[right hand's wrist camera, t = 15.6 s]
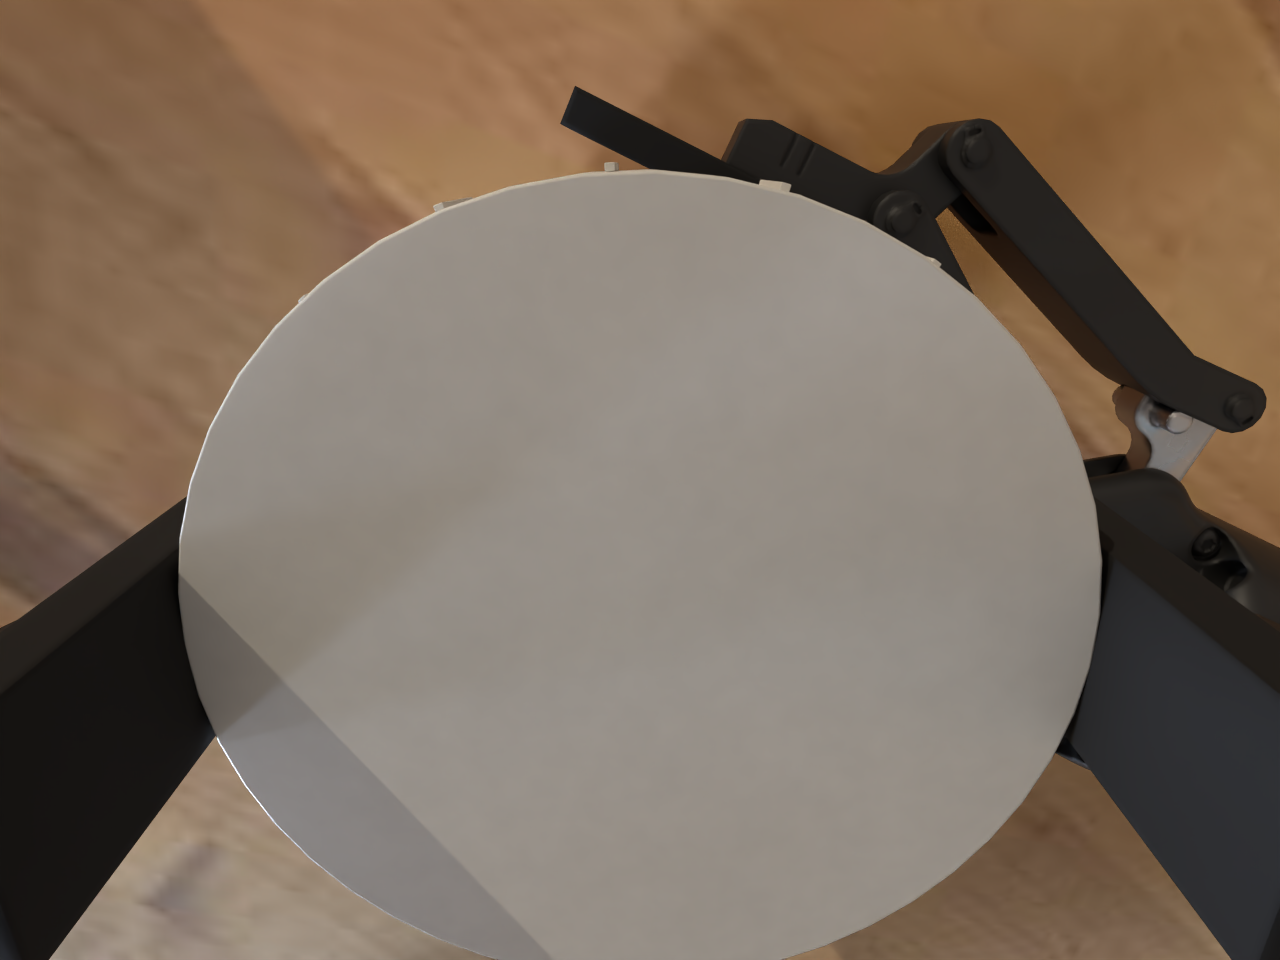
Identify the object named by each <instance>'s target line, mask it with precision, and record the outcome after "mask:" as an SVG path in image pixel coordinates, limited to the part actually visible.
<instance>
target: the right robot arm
mask: <svg viewBox="0 0 1280 960" xmlns="http://www.w3.org/2000/svg"><path fill="white" fill-rule="evenodd" d="M1093 498H1094V502H1095V505H1096V513H1097V522H1098V530H1099V538H1100V547H1101V555H1102V580H1101V609H1100V619H1099V624H1098V629H1097V635H1096V640H1095V646H1094V651H1093V655H1092V660H1091V665H1090V669H1089V672H1088V675H1087V678H1086V681H1085V684H1084V687H1083V690H1082V693H1081V696H1080V699H1079V702H1078V705H1077V708H1076V711H1075V714H1074V716H1073V718H1072V720H1071V722H1070V724H1069V726H1068V728H1067V730H1066V732H1065V734H1064V735H1065V736H1066V738H1067V739H1068V740H1069V742H1070V743H1071V744H1072V746H1073V747H1074V749H1075V750H1076V751H1077V753H1078V754H1079V755H1080V757H1081V758H1082V759H1083V761H1084V762H1085V763H1086V765H1087V766H1088V767H1089V769H1090V770H1091V771H1092V773H1093V774H1094V775H1095V777H1096V778H1097V779H1098V781H1099V782H1100V783H1101V785H1102V786H1103V787H1104V789H1105V790H1106V791H1107V793H1108V794H1109V796H1110V797H1111V798H1112V800H1113V801H1114V802H1115V804H1116V805H1117V806H1118V808H1119V809H1120V810H1121V812H1122V813H1123V814H1124V816H1125V817H1126V818H1127V820H1128V821H1129V822H1130V824H1131V825H1132V826H1133V828H1134V829H1135V830H1136V832H1137V833H1138V834H1139V836H1140V837H1141V839H1142V840H1143V841H1144V843H1145V844H1146V845H1147V847H1148V848H1149V849H1150V851H1151V852H1152V853H1153V855H1154V856H1155V857H1156V859H1157V860H1158V861H1159V863H1160V864H1161V865H1162V867H1163V868H1164V869H1165V871H1166V872H1167V873H1168V875H1169V876H1170V877H1171V879H1172V880H1173V881H1174V883H1175V884H1176V886H1177V887H1178V888H1179V890H1180V891H1181V892H1182V894H1183V895H1184V896H1185V898H1186V899H1187V900H1188V902H1189V903H1190V904H1191V906H1192V907H1193V908H1194V910H1195V911H1196V912H1197V914H1198V915H1199V916H1200V918H1201V919H1202V920H1203V922H1204V923H1205V924H1206V926H1207V927H1208V928H1209V930H1210V931H1211V933H1212V934H1213V935H1214V937H1215V938H1216V939H1217V941H1218V942H1219V943H1220V945H1221V946H1222V947H1223V949H1224V950H1225V951H1226V953H1227V954H1228V955H1229V957H1230V958H1231V959H1232V960H1280V624H1278V623H1276V622H1274V621H1272V620H1269V619H1267V618H1265V617H1263V616H1261V615H1259V614H1254V613H1253V612H1251V611H1250V610H1249V609H1247V608H1246V607H1245V606H1243V605H1242V604H1241V603H1239V602H1238V601H1236V600H1235V599H1234V598H1232V597H1231V596H1230V595H1228V594H1227V593H1225V592H1224V591H1223V590H1221V589H1220V588H1219V587H1217V586H1216V585H1214V584H1213V583H1212V582H1210V581H1209V580H1208V579H1206V578H1205V577H1204V576H1202V575H1201V574H1199V573H1198V572H1197V571H1195V570H1194V569H1193V568H1191V567H1190V566H1188V565H1187V564H1186V563H1184V562H1183V561H1182V560H1180V559H1179V558H1177V557H1176V556H1175V555H1173V554H1172V553H1171V552H1169V551H1168V550H1166V549H1165V548H1164V547H1162V546H1161V545H1160V544H1158V543H1157V542H1156V541H1154V540H1153V539H1151V538H1150V537H1149V536H1147V535H1146V534H1145V533H1143V532H1142V531H1140V530H1139V529H1138V528H1136V527H1135V526H1134V525H1132V524H1131V523H1129V522H1128V521H1127V520H1125V519H1124V518H1123V517H1121V516H1120V515H1119V514H1117V513H1116V512H1114V511H1113V510H1112V509H1110V508H1109V507H1108V506H1106V505H1105V504H1103V503H1102V502H1101V501H1099V500H1098V499H1097V498H1095V497H1094V496H1093ZM186 501H187V497H185V498H184V499H183V500H181V501H180V502H179V503H177V504H176V505H174V506H173V507H172V508H170V509H169V510H168V511H166V512H165V513H163V514H162V515H161V516H159V517H158V518H157V519H155V520H154V521H152V522H151V523H150V524H148V525H147V526H146V527H144V528H143V529H142V530H140V531H139V532H137V533H136V534H135V535H133V536H132V537H131V538H129V539H128V540H126V541H125V542H124V543H122V544H121V545H120V546H118V547H117V548H115V549H114V550H113V551H111V552H110V553H109V554H107V555H106V556H104V557H103V558H102V559H100V560H99V561H98V562H96V563H95V564H94V565H92V566H91V567H89V568H88V569H87V570H85V571H84V572H83V573H81V574H80V575H78V576H77V577H76V578H74V579H73V580H72V581H70V582H69V583H67V584H66V585H65V586H63V587H62V588H61V589H59V590H58V591H57V592H55V593H54V594H52V595H51V596H50V597H48V598H47V599H46V600H44V601H43V602H41V603H40V604H39V605H37V606H36V607H35V608H33V609H32V610H30V611H29V612H28V613H26V614H25V615H24V616H22V617H21V618H20V619H18V620H16V621H14V622H12V623H10V624H8V625H5V626H3V627H1V628H0V960H49V959H50V957H51V956H52V955H53V953H54V952H55V951H56V949H57V948H58V947H59V945H60V944H61V943H62V941H63V940H64V939H65V937H66V936H67V935H68V933H69V932H70V931H71V929H72V928H73V927H74V925H75V924H76V922H77V921H78V920H79V918H80V917H81V916H82V914H83V913H84V912H85V910H86V909H87V908H88V906H89V905H90V904H91V902H92V901H93V900H94V898H95V897H96V896H97V894H98V893H99V892H100V890H101V889H102V888H103V886H104V885H105V884H106V882H107V881H108V880H109V878H110V877H111V875H112V874H113V873H114V871H115V870H116V869H117V867H118V866H119V865H120V863H121V862H122V861H123V859H124V858H125V857H126V855H127V854H128V853H129V851H130V850H131V849H132V847H133V846H134V845H135V843H136V842H137V841H138V839H139V838H140V837H141V835H142V834H143V833H144V831H145V830H146V828H147V827H148V826H149V824H150V823H151V822H152V820H153V819H154V818H155V816H156V815H157V814H158V812H159V811H160V810H161V808H162V807H163V806H164V804H165V803H166V802H167V800H168V799H169V798H170V796H171V795H172V794H173V792H174V791H175V790H176V788H177V787H178V786H179V784H180V783H181V781H182V780H183V779H184V777H185V776H186V775H187V773H188V772H189V771H190V769H191V768H192V767H193V765H194V764H195V763H196V761H197V760H198V759H199V757H200V756H201V755H202V753H203V752H204V751H205V749H206V748H207V747H208V745H209V744H210V743H211V741H212V740H213V739H214V737H215V736H216V735H215V732H214V730H213V728H212V725H211V723H210V721H209V718H208V716H207V714H206V712H205V709H204V707H203V705H202V702H201V700H200V698H199V695H198V692H197V688H196V685H195V681H194V677H193V674H192V670H191V667H190V662H189V658H188V654H187V650H186V646H185V641H184V636H183V628H182V620H181V612H180V604H179V596H178V577H179V541H180V534H181V528H182V523H183V517H184V512H185V507H186Z"/></svg>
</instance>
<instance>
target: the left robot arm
mask: <svg viewBox="0 0 1280 960" xmlns="http://www.w3.org/2000/svg"><path fill="white" fill-rule="evenodd" d="M560 124H562V125H563V126H565V127H567V128H569V129H571V130H573V131H575V132H577V133H579V134H581V135H583V136H585V137H587V138H589V139H591V140H593V141H595V142H597V143H599V144H601V145H603V146H605V147H607V148H609V149H611V150H613V151H615V152H617V153H619V154H621V155H623V156H625V157H627V158H629V159H631V160H633V161H635V162H637V163H639V164H641V165H643V166H645V167H647V168H649V169H654V170H665V171H675V172H685V173H695V174H705V175H714V176H722V177H729V178H733V179H738V180H742V181H746V182H750V183H754V184H758V185H759V183H760V180H769V181H778V182H784V183H788V184H791V188H790V191H789V192H791V193H795V194H799V195H802V196H804V197H807V198H809V199H812V200H814V201H817V202H819V203H822V204H824V205H827V206H829V207H831V208H834V209H836V210H839V211H841V212H844V213H846V214H849V215H851V216H854V217H856V218H859V219H861V220H864V221H866V222H868V223H869V224H871V225H873V226H875V227H876V228H878V229H880V230H882V231H883V232H885V233H887V234H888V235H890V236H892V237H894V238H895V239H897V240H899V241H900V242H902V243H904V244H906V245H907V246H909V247H911V248H912V249H914V250H916V251H918V252H919V253H921V254H923V255H925V256H927V257H930V258H933V259H936V260H937V261H938V262H940V263H941V266H940V268H941V269H942V270H943V271H945V272H946V273H947V274H948V275H950V276H951V277H952V278H953V279H955V280H956V281H957V282H958V283H960V284H961V285H962V286H963V287H965V288H966V289H967V290H968V291H970V292H971V293H972V294H973V292H972V290H971V288H970V286H969V284H968V282H967V280H966V278H965V276H964V274H963V272H962V270H961V268H960V266H959V264H958V262H957V260H956V258H955V257H954V255H953V253H952V251H951V249H950V247H949V245H948V243H947V241H946V239H945V237H944V235H943V233H942V231H941V229H940V227H939V225H938V223H937V221H936V219H935V218H936V217H937V216H938V215H939V214H940V213H942V212H943V211H944V210H945V209H946V208H948V209H949V210H950V211H951V212H952V213H953V215H954V216H955V217H956V218H957V219H958V220H959V221H960V222H961V223H962V225H963V226H964V227H965V228H966V229H967V230H968V231H969V232H970V233H971V235H972V236H973V237H974V238H975V239H976V240H977V241H978V242H979V243H980V244H981V246H982V247H983V248H984V249H985V250H986V251H987V252H988V253H989V254H990V256H991V257H992V258H993V259H994V260H995V261H996V262H997V263H998V264H999V266H1000V267H1001V268H1002V269H1003V270H1004V271H1005V272H1006V273H1007V274H1008V276H1009V277H1010V278H1011V279H1012V280H1013V281H1014V282H1015V283H1016V284H1017V285H1018V287H1019V288H1020V289H1021V290H1022V291H1023V292H1024V293H1025V294H1026V295H1027V297H1028V298H1029V299H1030V300H1031V301H1032V302H1033V303H1034V304H1035V305H1036V307H1037V308H1038V309H1039V310H1040V311H1041V312H1042V313H1043V314H1044V315H1045V316H1046V318H1047V319H1048V320H1049V321H1050V322H1051V323H1052V324H1053V325H1054V326H1055V328H1056V329H1057V330H1058V331H1059V332H1060V333H1061V334H1062V335H1063V336H1064V338H1065V339H1066V340H1067V341H1068V342H1069V343H1070V344H1071V345H1072V346H1073V348H1074V349H1075V350H1076V351H1077V352H1078V353H1079V354H1080V355H1081V356H1082V357H1083V358H1084V359H1085V360H1086V361H1087V362H1088V363H1089V364H1090V365H1091V366H1092V367H1093V368H1094V369H1096V370H1097V371H1098V372H1100V373H1101V374H1103V375H1104V376H1105V377H1107V378H1109V379H1110V380H1112V381H1114V382H1116V383H1118V384H1120V385H1121V386H1119V387H1118V388H1117V389H1116V390H1115V391H1114V393H1113V395H1112V400H1113V402H1114V404H1115V411H1116V415H1117V417H1118V419H1119V420H1120V421H1121V422H1122V423H1123V424H1125V425H1126V426H1127V427H1128V429H1129V431H1130V433H1131V438H1132V441H1131V446H1130V449H1129V451H1128V453H1127V454H1115V455H1109V456H1103V457H1098V458H1092V459H1086V460H1083V463H1084V466H1085V470H1086V473H1087V477H1088V480H1089V484H1090V487H1091V491H1092V495H1093V496H1094V497H1095V498H1097V499H1098V500H1099V501H1101V502H1102V503H1103V504H1105V505H1106V506H1108V507H1109V508H1110V509H1112V510H1113V511H1114V512H1116V513H1117V514H1119V515H1120V516H1121V517H1123V518H1124V519H1125V520H1127V521H1128V522H1129V523H1131V524H1132V525H1134V526H1135V527H1136V528H1138V529H1139V530H1140V531H1142V532H1143V533H1145V534H1146V535H1147V536H1149V537H1150V538H1151V539H1153V540H1154V541H1156V542H1157V543H1158V544H1160V545H1161V546H1162V547H1164V548H1165V549H1166V550H1168V551H1169V552H1171V553H1172V554H1173V555H1175V556H1176V557H1177V558H1179V559H1180V560H1182V561H1183V562H1184V563H1186V564H1187V565H1188V566H1190V567H1191V568H1193V569H1194V570H1195V571H1197V572H1198V573H1199V574H1201V575H1202V576H1204V577H1205V578H1206V579H1208V580H1209V581H1210V582H1212V583H1213V584H1214V585H1216V586H1217V587H1219V588H1220V589H1221V590H1223V591H1224V592H1225V593H1227V594H1228V595H1230V596H1231V597H1232V598H1234V599H1235V600H1236V601H1238V602H1239V603H1241V604H1242V605H1243V606H1245V607H1246V608H1247V609H1249V610H1250V611H1251V612H1253V613H1254V614H1259V615H1261V616H1263V617H1265V618H1267V619H1269V620H1272V621H1274V622H1276V623H1278V624H1280V548H1278V547H1276V546H1274V545H1272V544H1270V543H1268V542H1266V541H1264V540H1262V539H1260V538H1258V537H1256V536H1254V535H1252V534H1250V533H1248V532H1245V531H1243V530H1241V529H1239V528H1237V527H1235V526H1233V525H1231V524H1229V523H1227V522H1225V521H1223V520H1221V519H1219V518H1217V517H1215V516H1212V515H1210V514H1208V513H1206V512H1204V511H1202V510H1200V509H1198V508H1196V507H1195V505H1194V504H1193V503H1192V501H1191V499H1190V497H1189V495H1188V493H1187V491H1186V489H1185V487H1184V486H1183V485H1182V483H1181V482H1180V481H1181V480H1182V478H1183V477H1184V475H1185V474H1186V472H1187V471H1188V470H1189V468H1190V467H1191V465H1192V464H1193V462H1194V461H1195V460H1196V458H1197V457H1198V455H1199V454H1200V452H1201V451H1202V450H1203V448H1204V447H1205V445H1206V444H1207V443H1208V441H1209V440H1210V438H1211V437H1212V435H1213V434H1214V433H1215V431H1216V430H1217V429H1219V430H1221V431H1225V432H1230V433H1235V432H1241V431H1244V430H1246V429H1248V428H1249V427H1251V426H1253V425H1254V424H1255V423H1256V422H1257V421H1258V420H1259V419H1260V418H1261V416H1262V414H1263V412H1264V410H1265V408H1266V396H1265V393H1264V391H1263V389H1262V388H1260V387H1259V386H1258V385H1257V384H1255V383H1253V382H1251V381H1249V380H1246V379H1244V378H1242V377H1240V376H1238V375H1236V374H1233V373H1231V372H1229V371H1227V370H1225V369H1222V368H1220V367H1218V366H1216V365H1214V364H1212V363H1209V362H1207V361H1205V360H1203V359H1201V358H1198V357H1196V356H1194V355H1193V354H1192V352H1191V351H1190V350H1189V349H1188V348H1187V346H1186V345H1185V344H1184V343H1183V342H1182V341H1181V339H1180V338H1179V337H1178V336H1177V335H1176V334H1175V332H1174V331H1173V330H1172V329H1171V328H1170V327H1169V325H1168V324H1167V323H1166V322H1165V321H1164V319H1163V318H1162V317H1161V316H1160V315H1159V314H1158V312H1157V311H1156V310H1155V309H1154V308H1153V307H1152V305H1151V304H1150V303H1149V302H1148V301H1147V300H1146V298H1145V297H1144V296H1143V295H1142V294H1141V293H1140V291H1139V290H1138V289H1137V288H1136V287H1135V285H1134V284H1133V283H1132V282H1131V281H1130V280H1129V278H1128V277H1127V276H1126V275H1125V274H1124V273H1123V271H1122V270H1121V269H1120V268H1119V267H1118V266H1117V264H1116V263H1115V262H1114V261H1113V260H1112V258H1111V257H1110V256H1109V255H1108V254H1107V253H1106V251H1105V250H1104V249H1103V248H1102V247H1101V246H1100V244H1099V243H1098V242H1097V241H1096V240H1095V239H1094V237H1093V236H1092V235H1091V234H1090V233H1089V231H1088V230H1087V229H1086V228H1085V227H1084V226H1083V224H1082V223H1081V222H1080V221H1079V220H1078V219H1077V217H1076V216H1075V215H1074V214H1073V213H1072V212H1071V210H1070V209H1069V208H1068V207H1067V206H1066V205H1065V203H1064V202H1063V201H1062V200H1061V199H1060V197H1059V196H1058V195H1057V194H1056V193H1055V192H1054V190H1053V189H1052V188H1051V187H1050V186H1049V185H1048V183H1047V182H1046V181H1045V180H1044V179H1043V178H1042V176H1041V175H1040V174H1039V173H1038V172H1037V170H1036V169H1035V168H1034V167H1033V166H1032V165H1031V163H1030V162H1029V161H1028V160H1027V159H1026V158H1025V156H1024V155H1023V154H1022V153H1021V152H1020V151H1019V149H1018V148H1017V147H1016V146H1015V145H1014V143H1013V142H1012V141H1011V140H1010V139H1009V138H1008V136H1007V135H1006V134H1005V133H1004V132H1003V131H1002V129H1001V128H1000V127H999V126H997V125H996V124H995V123H993V122H992V121H991V120H985V119H972V120H965V121H958V122H950V123H943V124H937V125H933V126H929V127H927V128H926V129H924V130H923V131H922V132H920V133H919V134H918V136H917V137H916V139H915V140H914V141H913V143H912V147H911V148H910V149H909V150H908V151H906V152H905V153H904V154H903V155H902V156H901V157H900V158H899V159H898V160H897V161H896V162H895V163H894V164H893V165H891V166H890V167H889V168H888V169H886V170H884V171H881V172H879V173H874V172H871V171H869V170H867V169H865V168H863V167H861V166H859V165H857V164H855V163H853V162H851V161H849V160H848V159H846V158H844V157H842V156H840V155H838V154H836V153H834V152H832V151H830V150H828V149H826V148H825V147H823V146H821V145H819V144H817V143H814V142H813V141H811V140H809V139H807V138H805V137H803V136H802V135H800V134H797V133H795V132H794V131H792V130H790V129H788V128H786V127H784V126H782V125H781V124H779V123H777V122H775V121H773V120H759V119H745V120H743V121H740V122H739V123H738V125H737V127H736V129H735V131H734V133H733V136H732V138H731V140H730V142H729V144H728V146H727V148H726V151H725V153H724V155H723V157H722V159H721V160H720V159H718V158H716V157H714V156H712V155H710V154H708V153H706V152H704V151H702V150H700V149H698V148H696V147H694V146H692V145H690V144H688V143H686V142H684V141H682V140H680V139H678V138H676V137H674V136H672V135H671V134H669V133H667V132H665V131H663V130H661V129H659V128H657V127H655V126H653V125H651V124H649V123H647V122H645V121H643V120H641V119H639V118H637V117H635V116H633V115H631V114H629V113H627V112H625V111H623V110H621V109H619V108H617V107H615V106H613V105H612V104H610V103H608V102H606V101H604V100H602V99H600V98H598V97H596V96H594V95H592V94H590V93H588V92H586V91H584V90H582V89H580V88H578V87H576V86H575V88H574V90H573V93H572V95H571V98H570V100H569V103H568V105H567V108H566V110H565V113H564V116H563V118H562V121H561V123H560ZM973 295H974V294H973ZM1055 753H1056V754H1058V755H1060V756H1062V757H1064V758H1066V759H1068V760H1069V761H1071V762H1073V763H1075V764H1077V765H1079V766H1082V767H1084V768H1086V769H1088V770H1090V769H1089V767H1088V766H1087V765H1086V763H1085V762H1084V761H1083V759H1082V758H1081V757H1080V755H1079V754H1078V753H1077V751H1076V750H1075V749H1074V747H1073V746H1072V744H1071V743H1070V742H1069V740H1068V739H1067V738H1066V736H1065V735H1064V736H1063V738H1062V740H1061V742H1060V744H1059V746H1058V748H1057V750H1056V752H1055Z"/></svg>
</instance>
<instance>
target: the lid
mask: <svg viewBox="0 0 1280 960" xmlns="http://www.w3.org/2000/svg"><path fill="white" fill-rule="evenodd" d="M604 165H605V171H598V172H587V173H579V174H574V175H568V176H563V177H558V178H552V179H547V180H541V181H536V182H530V183H525V184H520V185H514V186H509V187H506V188H503V189H500V190H497V191H494V192H491V193H488V194H485V195H482V196H479V197H476V198H472V197H468V198H463V199H457V200H452V201H447V202H441V203H439V204H437V205H434V209H435V211H436V212H435V213H433V214H431V215H429V216H427V217H425V218H423V219H421V220H419V221H417V222H415V223H413V224H411V225H409V226H407V227H405V228H403V229H401V230H399V231H397V232H395V233H393V234H391V235H389V236H387V237H385V238H383V239H381V240H379V241H378V242H376V243H375V244H373V245H372V246H370V247H369V248H368V249H366V250H365V251H363V252H362V253H361V254H359V255H358V256H356V257H355V258H353V259H352V260H351V261H349V262H348V263H346V264H345V265H344V266H342V267H341V268H339V269H338V270H336V271H335V272H334V273H332V274H331V275H329V276H328V277H327V278H325V279H324V280H323V281H321V282H320V283H319V284H318V285H317V286H316V287H315V288H314V289H313V290H312V291H311V292H310V293H308V294H306V295H303V296H302V297H301V298H300V300H299V301H298V302H299V304H298V305H296V306H295V307H294V308H293V309H292V310H291V311H290V312H289V313H288V314H287V315H286V316H285V317H284V318H283V319H282V320H281V321H280V322H279V323H278V324H277V325H276V326H275V327H274V328H273V330H272V331H271V332H270V334H269V335H268V336H267V338H266V339H265V340H264V341H263V343H262V344H261V345H260V347H259V348H258V349H257V351H256V352H255V353H254V355H253V356H252V357H251V358H250V360H249V361H248V362H247V364H246V365H245V366H244V368H243V369H242V370H241V372H240V373H239V374H238V376H237V378H236V379H235V381H234V383H233V385H232V387H231V389H230V390H229V392H228V394H227V396H226V398H225V400H224V402H223V403H222V405H221V407H220V409H219V411H218V413H217V414H216V416H215V418H214V420H213V422H212V424H211V426H210V427H209V430H208V433H207V436H206V438H205V441H204V444H203V447H202V450H201V453H200V455H199V458H198V461H197V464H196V467H195V470H194V472H193V475H192V478H191V481H190V485H189V490H188V496H187V501H186V507H185V512H184V517H183V523H182V528H181V534H180V541H179V577H178V596H179V604H180V612H181V620H182V628H183V636H184V641H185V646H186V650H187V654H188V658H189V662H190V667H191V670H192V674H193V677H194V681H195V685H196V688H197V692H198V695H199V698H200V700H201V702H202V705H203V707H204V709H205V712H206V714H207V716H208V718H209V721H210V723H211V725H212V728H213V730H214V732H215V735H216V737H217V739H218V741H219V743H220V745H221V747H222V748H223V750H224V752H225V753H226V755H227V757H228V758H229V760H230V762H231V763H232V765H233V767H234V768H235V770H236V771H237V773H238V775H239V776H240V778H241V780H242V781H243V783H244V785H245V786H246V787H247V789H248V790H249V791H250V792H251V794H252V795H253V796H254V798H255V799H256V800H257V801H258V803H259V804H260V805H261V806H262V808H263V809H264V810H265V811H266V813H267V814H268V815H269V816H270V818H271V819H272V820H273V821H274V823H275V824H276V825H277V826H278V827H279V828H280V829H281V830H282V831H283V832H284V833H285V834H286V835H287V836H288V837H289V838H290V839H291V840H292V841H293V842H294V843H295V844H296V845H297V846H298V847H299V848H300V849H301V850H302V851H303V852H304V853H305V854H306V855H307V856H308V857H309V858H310V859H311V860H312V861H314V862H315V863H316V864H317V865H319V866H320V867H321V868H322V869H324V870H325V871H326V872H328V873H329V874H330V875H331V876H333V877H334V878H335V879H336V880H338V881H339V882H340V883H342V884H343V885H344V886H345V887H347V888H348V889H349V890H350V891H352V892H354V893H355V894H357V895H358V896H360V897H362V898H363V899H365V900H366V901H368V902H370V903H371V904H373V905H374V906H376V907H378V908H379V909H381V910H382V911H384V912H386V913H387V914H389V915H390V916H392V917H394V918H396V919H398V920H400V921H402V922H404V923H406V924H408V925H410V926H412V927H414V928H416V929H418V930H421V931H423V932H425V933H427V934H429V935H431V936H433V937H435V938H437V939H439V940H442V941H445V942H448V943H450V944H453V945H456V946H458V947H461V948H464V949H467V950H469V951H472V952H475V953H478V954H480V955H483V956H486V957H490V958H494V959H498V960H783V959H786V958H789V957H792V956H795V955H798V954H801V953H804V952H808V951H811V950H814V949H817V948H820V947H823V946H826V945H828V944H830V943H832V942H835V941H837V940H839V939H842V938H844V937H846V936H848V935H851V934H853V933H855V932H858V931H860V930H862V929H864V928H867V927H869V926H871V925H873V924H874V923H876V922H878V921H880V920H881V919H883V918H885V917H887V916H889V915H890V914H892V913H894V912H896V911H897V910H899V909H901V908H903V907H904V906H906V905H908V904H910V903H911V902H913V901H914V900H916V899H917V898H919V897H920V896H921V895H923V894H924V893H926V892H927V891H928V890H930V889H931V888H933V887H934V886H935V885H937V884H938V883H940V882H941V881H942V880H944V879H945V878H947V877H948V876H949V875H951V874H952V873H953V872H955V871H956V870H957V869H958V868H959V867H960V866H961V865H962V864H963V863H965V862H966V861H967V860H968V859H969V858H970V857H971V856H972V855H973V854H974V853H976V852H977V851H978V850H979V849H980V848H981V847H982V846H983V845H984V844H986V843H987V842H988V841H989V840H990V839H991V838H992V837H993V836H994V834H995V833H996V832H997V831H998V830H999V829H1000V828H1001V826H1002V825H1003V824H1004V823H1005V822H1006V821H1007V820H1008V818H1009V817H1010V816H1011V815H1012V814H1013V813H1014V812H1015V810H1016V809H1017V808H1018V807H1019V806H1020V805H1021V804H1022V802H1023V801H1024V800H1025V798H1026V797H1027V795H1028V794H1029V792H1030V791H1031V789H1032V788H1033V786H1034V785H1035V783H1036V782H1037V780H1038V779H1039V778H1040V776H1041V775H1042V773H1043V772H1044V770H1045V769H1046V767H1047V766H1048V764H1049V763H1050V761H1051V760H1052V758H1053V756H1054V754H1055V752H1056V750H1057V748H1058V746H1059V744H1060V742H1061V740H1062V738H1063V736H1064V734H1065V732H1066V730H1067V728H1068V726H1069V724H1070V722H1071V720H1072V718H1073V716H1074V714H1075V711H1076V708H1077V705H1078V702H1079V699H1080V696H1081V693H1082V690H1083V687H1084V684H1085V681H1086V678H1087V675H1088V672H1089V669H1090V665H1091V660H1092V655H1093V651H1094V646H1095V640H1096V635H1097V629H1098V624H1099V619H1100V609H1101V580H1102V555H1101V547H1100V538H1099V530H1098V522H1097V513H1096V505H1095V502H1094V498H1093V495H1092V491H1091V487H1090V484H1089V480H1088V477H1087V473H1086V470H1085V466H1084V463H1083V459H1082V456H1081V452H1080V449H1079V447H1078V445H1077V443H1076V440H1075V438H1074V436H1073V434H1072V432H1071V430H1070V427H1069V425H1068V423H1067V421H1066V419H1065V417H1064V414H1063V412H1062V410H1061V408H1060V406H1059V404H1058V401H1057V399H1056V397H1055V395H1054V394H1053V392H1052V391H1051V389H1050V388H1049V386H1048V385H1047V383H1046V382H1045V380H1044V379H1043V377H1042V376H1041V374H1040V373H1039V371H1038V370H1037V368H1036V367H1035V365H1034V364H1033V362H1032V361H1031V359H1030V358H1029V356H1028V355H1027V353H1026V352H1025V350H1024V349H1023V347H1022V346H1021V345H1020V343H1019V342H1018V341H1017V340H1016V339H1015V338H1014V337H1013V336H1012V335H1011V334H1010V333H1009V332H1008V330H1007V329H1006V328H1005V327H1004V326H1003V325H1002V324H1001V323H1000V322H999V321H998V320H997V318H996V317H995V316H994V315H993V314H992V313H991V312H990V311H989V310H988V309H987V308H986V307H985V305H984V304H983V303H982V302H981V301H980V300H979V299H978V298H977V297H976V296H975V295H973V294H972V293H971V292H970V291H968V290H967V289H966V288H965V287H963V286H962V285H961V284H960V283H958V282H957V281H956V280H955V279H953V278H952V277H951V276H950V275H948V274H947V273H946V272H945V271H943V270H942V269H941V268H940V266H941V263H940V262H938V261H937V260H936V259H933V258H930V257H927V256H925V255H923V254H921V253H919V252H918V251H916V250H914V249H912V248H911V247H909V246H907V245H906V244H904V243H902V242H900V241H899V240H897V239H895V238H894V237H892V236H890V235H888V234H887V233H885V232H883V231H882V230H880V229H878V228H876V227H875V226H873V225H871V224H869V223H868V222H866V221H864V220H861V219H859V218H856V217H854V216H851V215H849V214H846V213H844V212H841V211H839V210H836V209H834V208H831V207H829V206H827V205H824V204H822V203H819V202H817V201H814V200H812V199H809V198H807V197H804V196H802V195H799V194H795V193H791V192H789V191H790V188H791V184H788V183H784V182H778V181H769V180H760V183H759V185H758V184H754V183H750V182H746V181H742V180H738V179H733V178H729V177H722V176H714V175H705V174H695V173H685V172H675V171H665V170H654V169H646V170H622V171H618V170H619V164H618V163H616V162H607V163H605V164H604Z"/></svg>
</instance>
